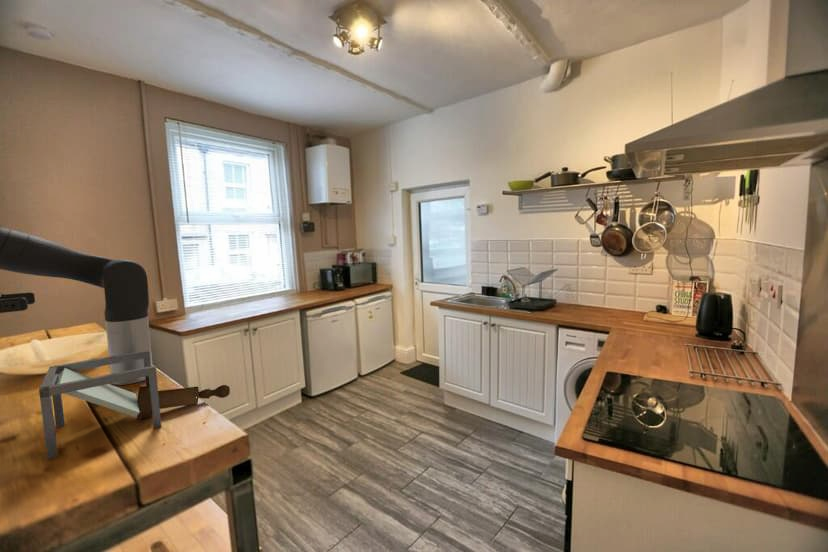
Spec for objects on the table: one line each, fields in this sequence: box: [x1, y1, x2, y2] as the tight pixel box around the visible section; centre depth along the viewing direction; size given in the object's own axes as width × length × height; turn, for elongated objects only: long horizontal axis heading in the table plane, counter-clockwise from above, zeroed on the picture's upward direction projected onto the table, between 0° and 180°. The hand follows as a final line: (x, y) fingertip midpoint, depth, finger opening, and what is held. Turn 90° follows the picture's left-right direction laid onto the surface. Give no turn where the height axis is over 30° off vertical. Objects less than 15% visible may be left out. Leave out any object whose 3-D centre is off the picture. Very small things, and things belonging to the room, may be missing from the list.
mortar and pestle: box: [136, 384, 231, 419], centre depth 83 cm, size 7×6×18 cm
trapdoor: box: [57, 368, 140, 418], centre depth 73 cm, size 12×14×1 cm
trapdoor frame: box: [38, 350, 162, 461], centre depth 73 cm, size 15×16×13 cm
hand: (30, 300), depth 65 cm, fingers open, 8 cm apart
